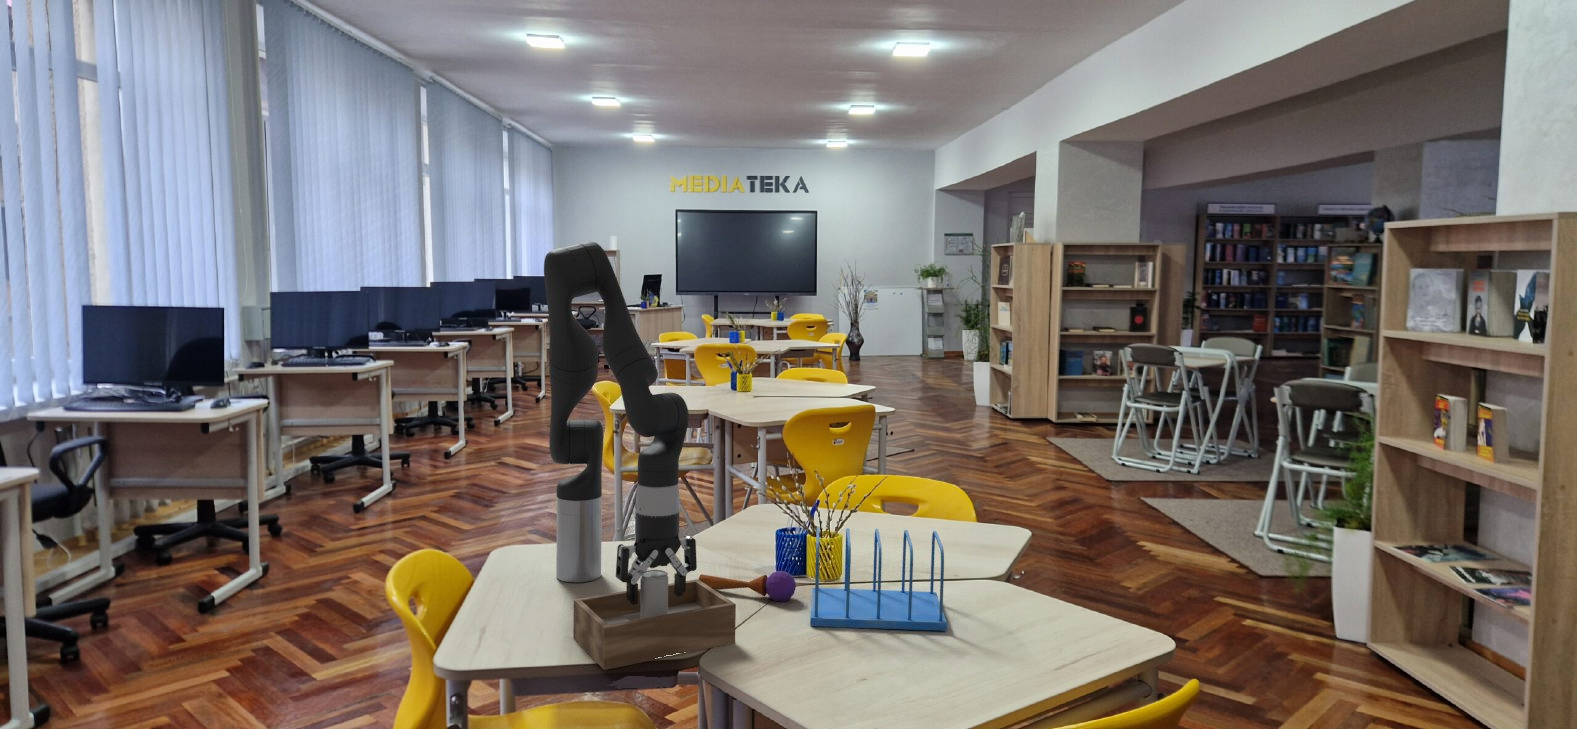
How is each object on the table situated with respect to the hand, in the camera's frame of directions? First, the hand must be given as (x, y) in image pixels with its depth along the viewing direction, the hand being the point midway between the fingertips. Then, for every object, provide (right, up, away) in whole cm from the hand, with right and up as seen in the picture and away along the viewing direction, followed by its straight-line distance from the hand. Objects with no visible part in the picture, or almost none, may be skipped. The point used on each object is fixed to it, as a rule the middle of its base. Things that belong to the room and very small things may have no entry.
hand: (656, 599), depth 163 cm
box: (0, -7, 0) cm, 7 cm away
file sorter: (+40, -7, +17) cm, 44 cm away
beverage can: (-1, -8, 0) cm, 8 cm away
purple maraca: (+15, -6, +25) cm, 30 cm away
